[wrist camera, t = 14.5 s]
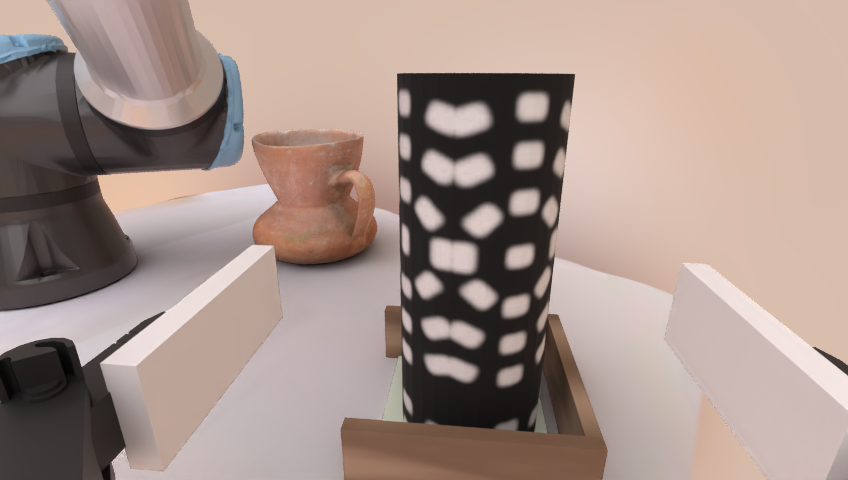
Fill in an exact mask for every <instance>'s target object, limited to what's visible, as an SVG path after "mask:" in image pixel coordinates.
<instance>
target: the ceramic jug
mask: <svg viewBox="0 0 848 480" xmlns="http://www.w3.org/2000/svg"><path fill="white" fill-rule="evenodd" d="M252 145H253V149H254V152H255V155H256V158H257V160H258V163H259V165H260V167H261V169H262V171H263V173H264V175H265V177H266V179H267V181H268V183H269V185H270V187H271V189H272V190H273V192H274V194H275V195H276V197H277V199H278V201H277V202H276V203H275V204H274V205H273V206H271V207H270V208H269V209H268V210H266V211H265V212H264V213H263V214H262V215H261V216H260V217H259V218H258V219H257V221H256V222H255V224H254V227H253V238H254V241H255V243H256V245H268V246H274V250H275V258H276V259H277V260H281V261H284V262H289V263H296V264H320V263H328V262H334V261H339V260H343V259H346V258H349V257H351V256H354V255H356V254H358V253H359V252H361V251H363V250H364V249H365V248H367V247H368V246H369V245H370V244H371V243H372V241H373V240H374V238H375V235H376V232H377V223H376V220H375V218H374V216H373V213H374V208H375V195H374V189H373V185H372V183H371V181H370V179H369V178H368V177H367V176H366V175H365V174H363V173H361V172H359V171H358V169H359V165H360V161H361V156H362V148H363V134H361V133H359V132H354V131H348V130H332V129H324V130H323V129H296V130H293V129H292V130H287V131H286V132H285V133H281V132H279V131H273V132H266V133H262V134H258V135H256V136H254V137H253V138H252ZM353 185H354V186H355V188H356V191H357V195H358V202H356V201H355V200H354V199H352V198H351V197H350V192H351V190H352V187H353Z"/></svg>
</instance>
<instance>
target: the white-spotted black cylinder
mask: <svg viewBox="0 0 848 480" xmlns="http://www.w3.org/2000/svg"><path fill="white" fill-rule="evenodd" d="M574 79H575V74H529V73H525V74H524V73H523V74H522V73H402V74H397V93H398V94H397V95H398V153H399V154H398V155H399V217H400V278H401V339H402V400H403V420H404V422H409V423H422V424H435V425H448V426H461V427H474V428H487V429H500V430H513V431H526V432H534V431H535V425H536V416H537V407H538V398H539V389H540V381H541V372H542V363H543V354H544V345H545V336H546V327H547V318H548V310H549V301H550V292H551V283H552V274H553V265H554V256H555V247H556V239H557V230H558V221H559V212H560V202H561V194H562V185H563V176H564V167H565V159H566V149H567V140H568V132H569V123H570V113H571V105H572V96H573V88H574Z"/></svg>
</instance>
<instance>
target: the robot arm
mask: <svg viewBox="0 0 848 480" xmlns="http://www.w3.org/2000/svg"><path fill="white" fill-rule="evenodd" d="M47 2H48V3H49V5H50V7H51V8H52V10H53V11H54V13H55V15H56V16H57V18H58V19H59V21H60V22H61V24H62V26H63V27H64V29H65V30H66V32H67V33H68V35H69V37H70V38H71V40H72V42H73V43H74V45H75V46H76V48H77V52H76V53H68V48H67V46H65V45H64V43H63V41H62V40H61V39H60V38H58V37H56V36H51V35H36V34H24V35H0V310H3V309H15V308H23V307H30V306H36V305H41V304H46V303H51V302H56V301H60V300H64V299H68V298H71V297H75V296H78V295H81V294H85V293H88V292H90V291H93V290H96V289H99V288H101V287H104V286H106V285H108V284H110V283H112V282H115V281H116V280H118V279H120V278H122V277H124V276H125V275H127V274H128V273H129V272H130V271H132V270H133V269H134V267H135V266H136V264H137V258H136V254H135V250H134V245H133V243H132V241H131V239H130V238H129V237H128V236H127V235H125V234H124V233H123V231H122V229H121V228H120V226H119V224H118V222H117V220H116V219H115V217H114V215H113V214H112V212H111V210H110V209H109V207H108V206H107V204H106V203H105V201H104V199H103V197H102V193H101V190H100V186H99V182H98V178H97V175H110V174H121V173H139V172H155V171H156V172H157V171H174V170H192V169H202V170H211V169H213V168H218V167H228V166H232V165H235V164H236V163H237V162H238V161H239V160H240V158H241V156H242V152H243V144H244V129H243V125H242V124H243V100H242V89H241V81H240V75H239V71H238V66H237V64H236V62H235V61H234V60H233V59H232V58H231V57H229V56H223V55H221V54H220V53H219V54H218V53H217V52H216V50H215V49H214V47H213V46H212V44H211V43H210V42H209V41H208V40H207V39H206V38H205V37H204V36H203V35H202V34H201V33H200V32H198V31H197V30H195V27H194V22H193V19H192V15H191V10H190V6H189V2H188V0H47ZM282 318H283V317H282V309H281V300H280V292H279V284H278V275H277V267H276V258H275V250H274V246H268V245H251V246H250V247H249V248H247V249H246V250H245V251H244V252H242V253H241V254H240V255H238V256H237V257H236V258H235V259H233V260H232V261H231V262H229V263H228V264H227V265H226V266H224V267H223V268H222V269H221V270H219V271H218V272H217V273H215V274H214V275H213V276H212V277H210V278H209V279H208V280H206V281H205V282H204V283H203V284H201V285H200V286H199V287H197V288H196V289H195V290H194V291H192V292H191V293H190V294H188V295H187V296H186V297H185V298H183V299H182V300H181V301H179V302H178V303H177V304H176V305H174V306H173V307H172V308H170V309H169V310H168V311H167V312H162V313H159V314H157V315H155V316H153V317H151V318H149V319H146V320H144V321H143V322H141V323H140V324H139V325H137V326H136V327H135V328H133V329H132V330H131V331H129V334H125V335H124V336H123V337H121V338H120V339H119V340H118V341H117V343H116V344H112V345H111V346H110V347H108V348H107V349H106V350H104V351H103V352H102V353H100V354H99V355H98V356H96V357H95V358H94V359H92V360H91V361H90V362H88V363H87V364H86V365H84V366H83V367H81V364H80V360H79V357H78V354H77V351H76V348H75V345H74V343H73V341H72V340H69V339H66V338H49V339H43V340H37V341H34V342H30V343H27V344H24V345H21V346H18V347H16V348H14V349H12V350H9V351H7V352H5V353H3V354H2V355H1V356H0V480H115V473H114V469H113V466H112V463H111V462H112V461H113V460H114V459H115V457H116V456H117V455H118V454H119V453H120V452H121V451H122V450H123V449H124V448H125V451H126V454H127V458H128V461H129V464H130V468H131V469H141V470H152V471H163V472H164V470H165V469H166V468H167V466H168V465H169V464H170V462H171V461H172V460H173V459H174V457H175V456H176V455H177V453H178V452H179V451H180V450H181V448H182V447H183V446H184V444H185V443H186V442H187V440H188V439H189V438H190V437H191V435H192V434H193V433H194V431H195V430H196V429H197V428H198V426H199V425H200V424H201V422H202V421H203V420H204V418H205V417H206V416H207V415H208V413H209V412H210V411H211V409H212V408H213V407H214V406H215V404H216V403H217V402H218V400H219V399H220V398H221V396H222V395H223V394H224V393H225V391H226V390H227V389H228V387H229V386H230V385H231V384H232V382H233V381H234V380H235V378H236V377H237V376H238V374H239V373H240V372H241V371H242V369H243V368H244V367H245V365H246V364H247V363H248V362H249V360H250V359H251V358H252V356H253V355H254V354H255V352H256V351H257V350H258V349H259V347H260V346H261V345H262V343H263V342H264V341H265V340H266V338H267V337H268V336H269V334H270V333H271V332H272V330H273V329H274V328H275V327H276V325H277V324H278V323H279V321H280V320H281V319H282ZM664 340H665V341H666V342H667V344H668V345H669V346H670V348H671V349H672V350H673V352H674V353H675V355H676V356H677V357H678V359H679V360H680V361H681V363H682V364H683V365H684V367H685V368H686V370H687V371H688V372H689V374H690V375H691V376H692V378H693V379H694V380H695V382H696V383H697V384H698V386H699V387H700V389H701V390H702V391H703V393H704V394H705V395H706V397H707V398H708V399H709V401H710V402H711V403H712V405H713V406H714V408H715V409H716V410H717V411H718V413H719V414H720V416H721V417H722V418H723V420H724V421H725V422H726V424H727V425H728V426H729V428H730V429H731V431H732V432H733V433H734V435H735V436H736V437H737V439H738V440H739V441H740V443H741V444H742V445H743V447H744V448H745V450H746V451H747V452H748V453H749V455H750V456H751V458H752V459H753V460H754V462H755V463H756V465H757V466H758V467H759V469H760V470H761V471H762V473H763V474H764V475H765V477H766V478H767V479H768V480H848V365H846V364H845V363H843V362H842V361H841V360H839V359H837V358H835V357H833V356H831V355H829V354H827V353H825V352H824V351H822V350H820V349H817V348H816V347H811V346H810V345H808V344H807V343H806V342H805V341H803V340H802V339H801V338H800V337H798V336H797V335H796V334H795V333H793V332H792V331H791V330H790V329H788V328H787V327H786V326H785V325H783V324H782V323H781V322H779V321H778V320H777V319H776V318H774V317H773V316H772V315H771V314H769V313H768V312H767V311H766V310H764V309H763V308H762V307H761V306H759V305H758V304H757V303H756V302H754V301H753V300H752V299H750V298H749V297H748V296H747V295H745V294H744V293H743V292H742V291H740V290H739V289H738V288H737V287H736V286H734V285H733V284H732V283H730V282H729V281H728V280H727V279H725V278H724V277H723V276H722V275H720V274H719V273H718V272H717V271H715V270H714V269H713V268H712V267H710V266H709V265H708V264H694V263H693V264H692V263H681V267H680V272H679V277H678V281H677V285H676V289H675V294H674V298H673V302H672V307H671V311H670V316H669V320H668V324H667V329H666V333H665V338H664Z"/></svg>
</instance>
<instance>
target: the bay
mask: <svg viewBox="0 0 848 480" xmlns="http://www.w3.org/2000/svg"><path fill="white" fill-rule="evenodd" d="M385 335H386V357H395V358H398V360H397V364H396V368H395V372H394V375H393V379H392V383H391V387H390V391H389V394H388V398H387V402H386V406H385V410H384V414H383V417H382V420H370V419H357V418H345V419H344V422H343V425H342V427H341V439H342V453H343V466H344V479H345V480H602V477H603V472H604V467H605V461H606V456H607V451H608V450H607V448H606V445H605V442H604V440H603V437H602V434H601V431H600V429H599V426H598V423H597V420H596V418H595V415H594V412H593V409H592V407H591V404H590V401H589V398H588V396H587V393H586V390H585V387H584V385H583V382H582V379H581V377H580V374H579V371H578V368H577V366H576V363H575V360H574V357H573V355H572V352H571V349H570V346H569V344H568V341H567V338H566V335H565V333H564V330H563V327H562V325H561V322H560V319H559V316H558V315H556V314H548V318H547V327H546V336H545V345H544V354H543V363H542V367H543V369H544V373H545V377H546V381H547V385H548V389H549V393H550V397H551V401H552V405H553V409H554V413H555V417H556V421H557V425H558V429H559V433H560V434H552V433H547V429H546V424H545V419H544V415H543V410H542V405H541V401H540V396H539V398H538V407H537V416H536V425H535V431H534V432H526V431H513V430H500V429H487V428H474V427H461V426H448V425H435V424H422V423H409V422H404V420H403V400H402V339H401V306H386V309H385Z"/></svg>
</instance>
